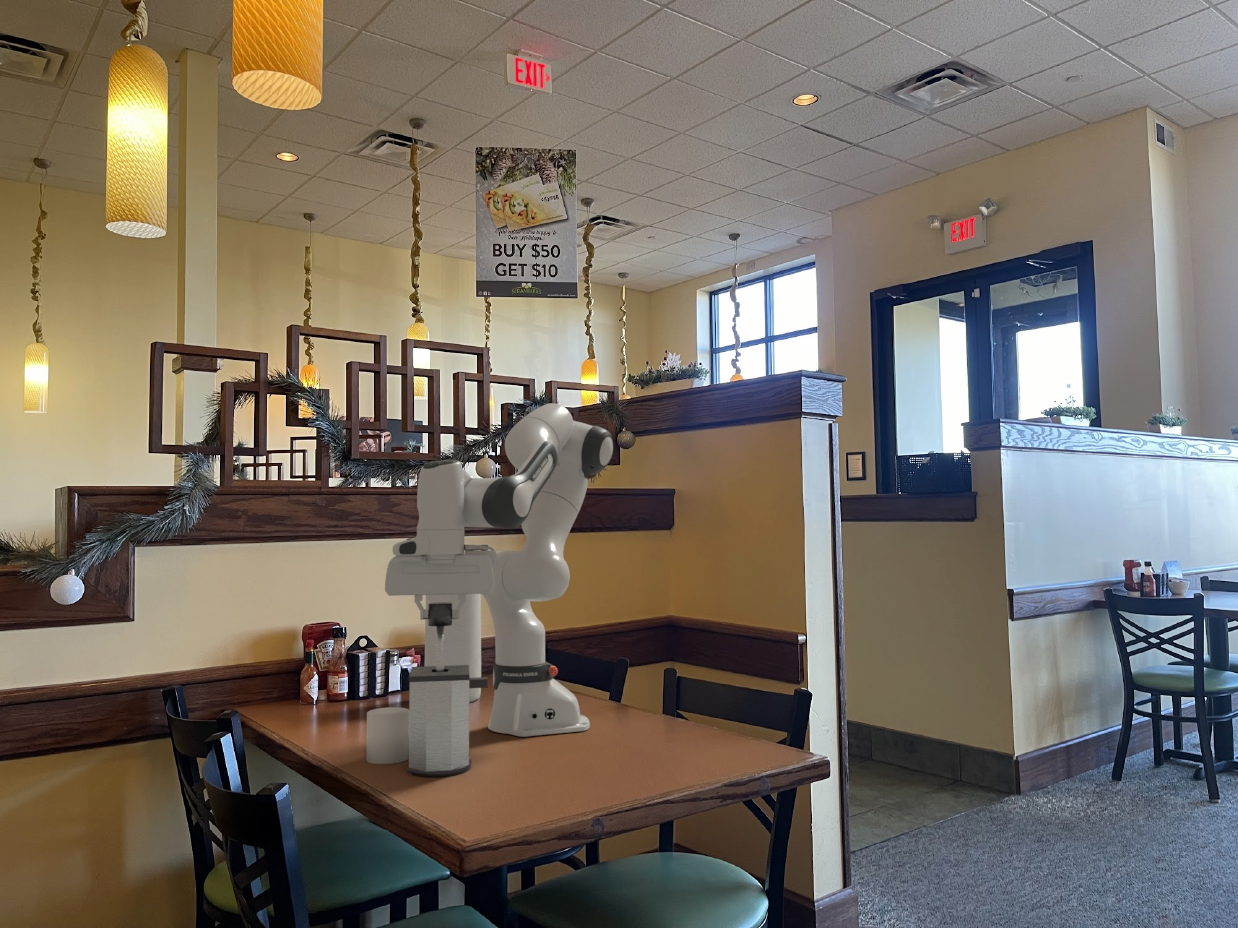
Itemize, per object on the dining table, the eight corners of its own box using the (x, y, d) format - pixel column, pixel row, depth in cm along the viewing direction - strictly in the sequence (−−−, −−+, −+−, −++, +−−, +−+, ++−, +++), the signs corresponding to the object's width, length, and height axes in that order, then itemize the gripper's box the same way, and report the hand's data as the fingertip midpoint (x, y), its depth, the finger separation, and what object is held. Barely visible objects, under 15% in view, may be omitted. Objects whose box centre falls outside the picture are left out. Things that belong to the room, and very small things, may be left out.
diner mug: (410, 748, 182) (411, 703, 183) (407, 762, 172) (408, 714, 172) (369, 750, 181) (370, 705, 182) (364, 765, 170) (364, 716, 171)
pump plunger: (451, 713, 171) (452, 602, 172) (451, 718, 166) (452, 604, 168) (428, 714, 170) (428, 602, 171) (427, 719, 166) (428, 604, 167)
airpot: (405, 778, 161) (406, 676, 162) (409, 761, 172) (409, 666, 173) (488, 774, 163) (488, 674, 165) (486, 757, 175) (486, 663, 176)
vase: (425, 695, 237) (426, 574, 239) (480, 693, 239) (480, 573, 241) (423, 706, 223) (424, 578, 224) (482, 704, 225) (482, 577, 227)
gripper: (495, 543, 175) (495, 615, 174) (387, 545, 171) (386, 618, 171) (496, 544, 169) (496, 619, 168) (384, 546, 165) (383, 622, 164)
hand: (440, 618), depth 169 cm, fingers closed on pump plunger, 4 cm apart
